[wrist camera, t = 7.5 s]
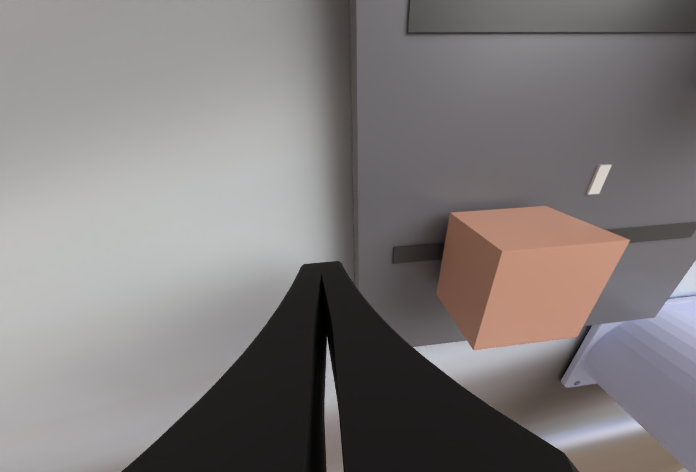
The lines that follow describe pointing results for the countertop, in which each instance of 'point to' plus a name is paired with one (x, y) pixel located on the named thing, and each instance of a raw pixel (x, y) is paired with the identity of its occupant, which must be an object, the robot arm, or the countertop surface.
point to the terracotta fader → (523, 274)
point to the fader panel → (521, 139)
